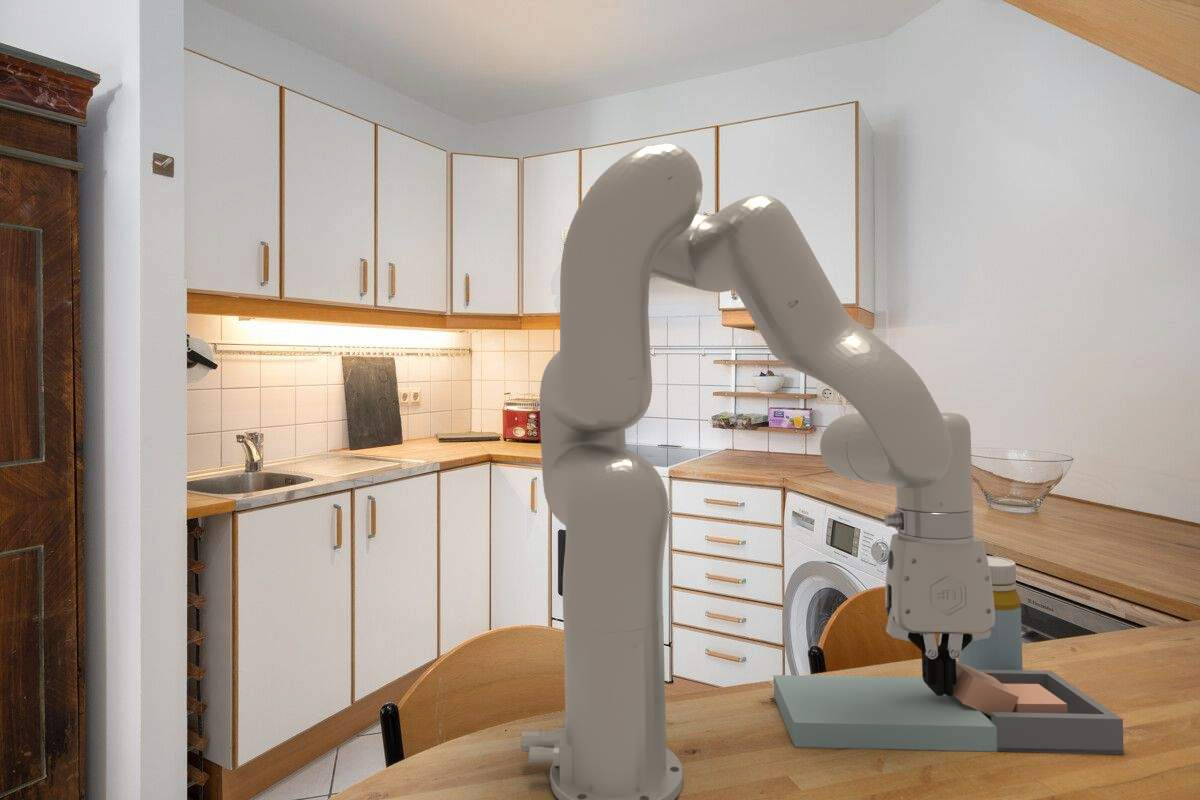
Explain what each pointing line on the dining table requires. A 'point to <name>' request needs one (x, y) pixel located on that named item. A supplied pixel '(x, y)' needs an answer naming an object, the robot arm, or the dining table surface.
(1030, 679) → the tray
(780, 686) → the pale green lid panel
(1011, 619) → the bottle
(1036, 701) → the tile
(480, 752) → the dining table surface
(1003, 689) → the tile
